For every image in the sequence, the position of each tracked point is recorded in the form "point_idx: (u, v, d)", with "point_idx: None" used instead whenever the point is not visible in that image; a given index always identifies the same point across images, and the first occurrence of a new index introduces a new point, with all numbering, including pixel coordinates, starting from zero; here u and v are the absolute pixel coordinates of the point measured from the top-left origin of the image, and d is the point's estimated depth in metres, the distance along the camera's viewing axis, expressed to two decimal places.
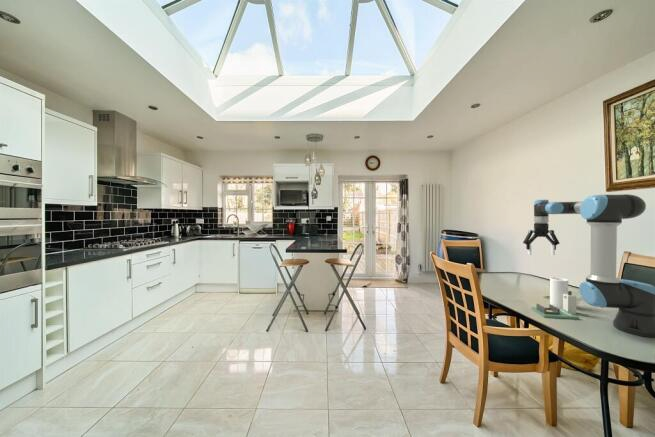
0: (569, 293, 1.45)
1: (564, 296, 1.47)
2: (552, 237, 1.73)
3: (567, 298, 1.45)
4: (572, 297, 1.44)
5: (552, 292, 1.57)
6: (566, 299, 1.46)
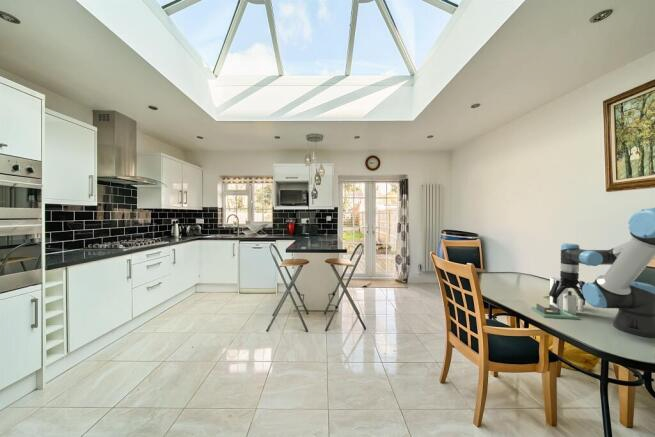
0: (569, 293, 1.45)
1: (564, 296, 1.47)
2: (581, 289, 1.45)
3: (567, 298, 1.45)
4: (572, 297, 1.44)
5: None
6: (566, 299, 1.46)
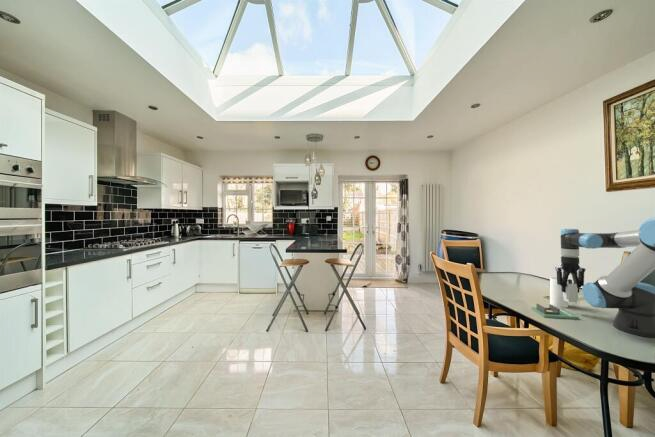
0: (569, 281, 1.45)
1: None
2: (579, 276, 1.45)
3: (568, 286, 1.44)
4: (573, 285, 1.44)
5: (552, 292, 1.57)
6: None
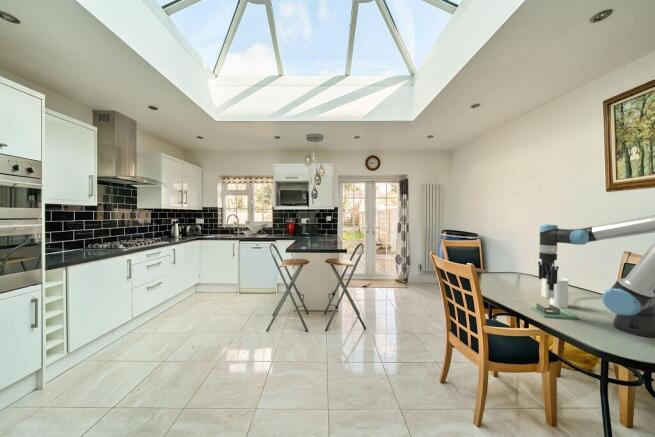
0: None
1: None
2: None
3: None
4: (543, 280, 1.45)
5: None
6: None
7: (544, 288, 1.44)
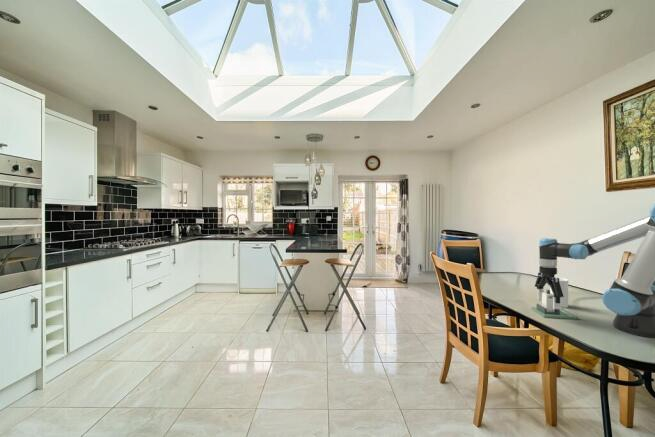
0: None
1: None
2: None
3: None
4: (544, 295, 1.45)
5: (552, 292, 1.57)
6: None
7: (544, 302, 1.44)
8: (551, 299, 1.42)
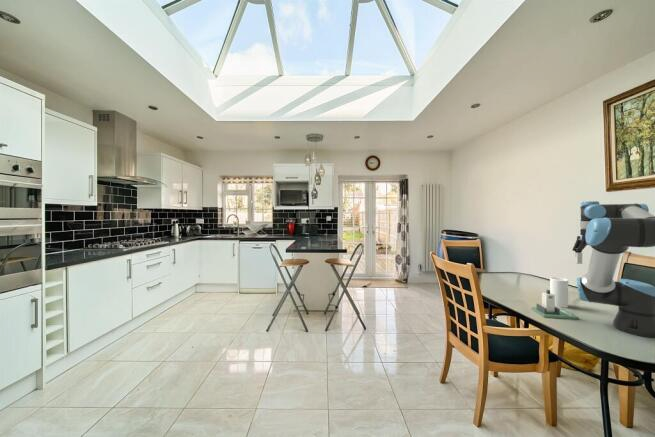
0: None
1: None
2: None
3: None
4: (544, 295, 1.45)
5: (552, 292, 1.57)
6: None
7: (544, 302, 1.44)
8: (551, 299, 1.42)
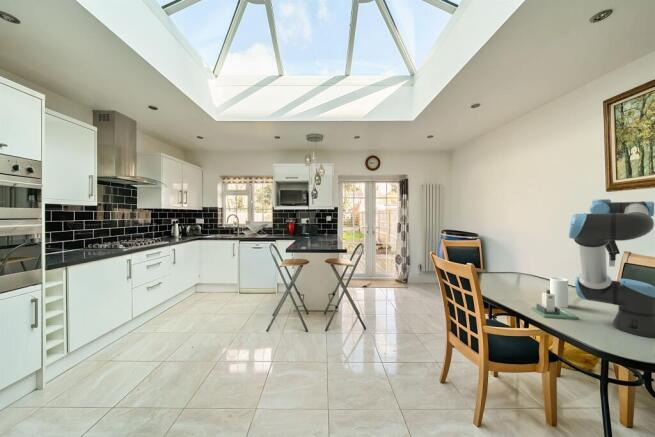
0: None
1: None
2: None
3: None
4: (544, 295, 1.45)
5: (552, 292, 1.57)
6: None
7: (544, 302, 1.44)
8: (551, 299, 1.42)
